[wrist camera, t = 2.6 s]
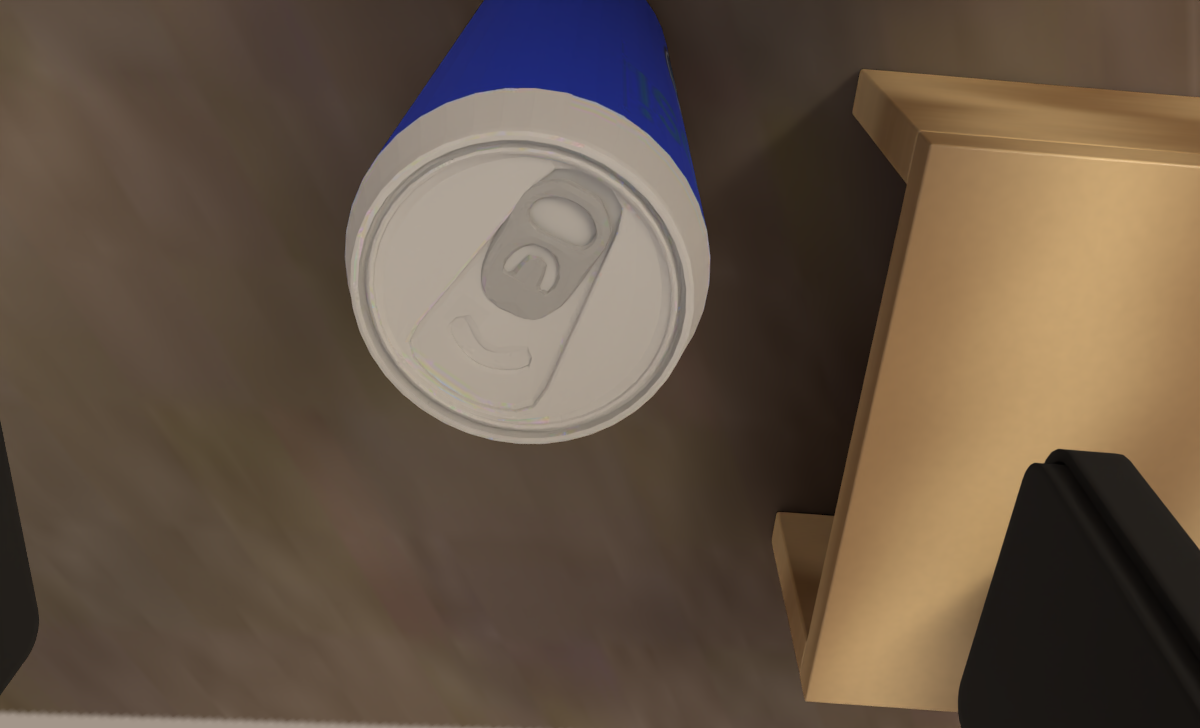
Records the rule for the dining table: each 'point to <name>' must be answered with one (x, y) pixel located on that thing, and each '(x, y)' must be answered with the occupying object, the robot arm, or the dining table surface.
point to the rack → (998, 361)
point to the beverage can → (534, 226)
